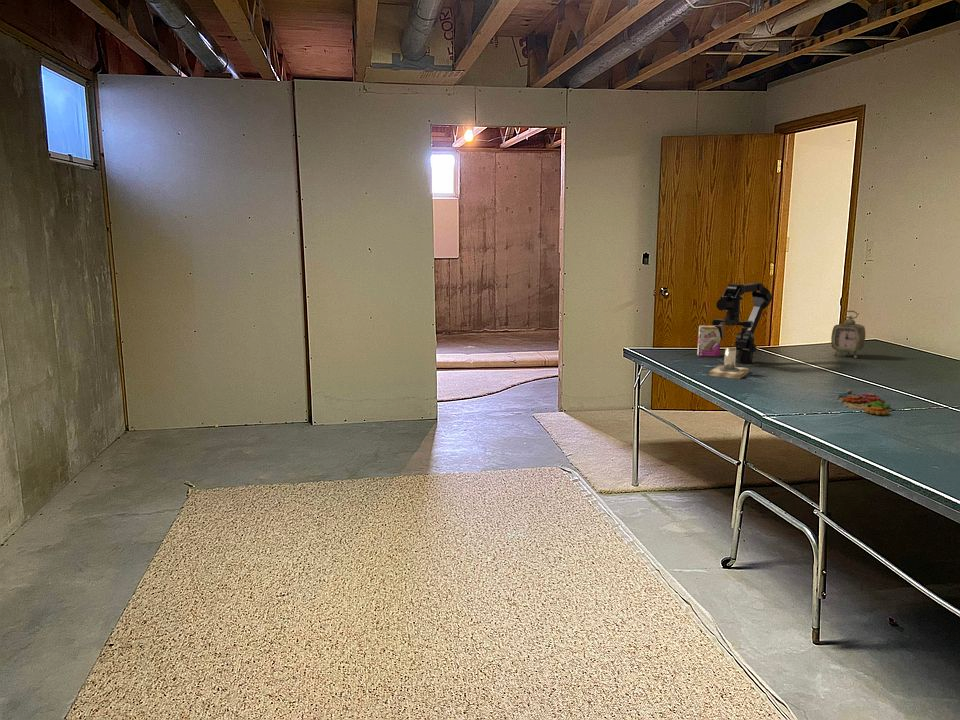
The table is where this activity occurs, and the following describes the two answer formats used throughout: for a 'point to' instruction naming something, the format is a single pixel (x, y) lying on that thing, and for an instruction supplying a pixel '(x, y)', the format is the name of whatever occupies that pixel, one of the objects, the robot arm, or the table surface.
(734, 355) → the canister
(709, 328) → the candy bar box
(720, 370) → the plinth
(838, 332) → the tabletop clock
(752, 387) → the table surface
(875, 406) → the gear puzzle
